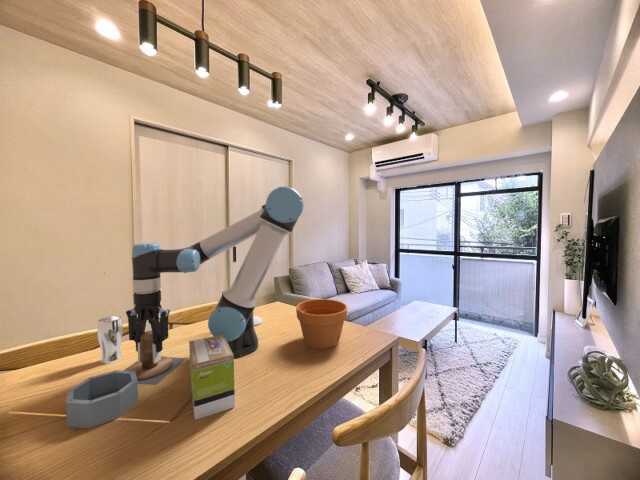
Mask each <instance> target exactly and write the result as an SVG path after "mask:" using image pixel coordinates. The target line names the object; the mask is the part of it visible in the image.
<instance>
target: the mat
mask: <svg viewBox="0 0 640 480" xmlns="http://www.w3.org/2000/svg"><path fill="white" fill-rule="evenodd" d="M168 357H169V356H168ZM169 358H171V359H172V367H171V368H170V369H169V370H168V371H166V372H165V373H163V374H161V375H159V376H156V377H154V378H150V379H146V380H138V385H153V386H156V385H158V384H159V383H160V382H162V381H163V379H165V378H166V377H167V376H168V375H170V373H172V372H173V371H174V370H175V369H176V368H177V367H179V365H182V363H183V362H185V360H187V359H188V357H172V356H171V357H169ZM136 362H138V360H137V361H135V362H134V363H136ZM127 368H128V367H126V368H125V369H124V370H122V371H126V370H127Z"/></svg>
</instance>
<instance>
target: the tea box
mask: <svg viewBox="0 0 640 480" xmlns="http://www.w3.org/2000/svg"><path fill="white" fill-rule="evenodd" d="M188 345H189V347H188V348H189V367H190V368H189V369H190V370H189V371H190V373H189V374H190V391H191V399H192V408H193V418H194V420H195V421H197V420H201V419H203V418H207V417H210V416H212V415H215V414H218V413H221V412H224V411H227V410H231V409H233V408H235V407H236V397H235V395H236V394H235V361H234V360H235V359H234V358H235V357H234V356H233V353H232V351H231V349H230V347H229V345H228V343H227V341H226V338H225V336H224V334H222V335H217V336H213V335H212V336H209V337H208V336H207V337H204V338H198V339H194V340H189V341H188Z"/></svg>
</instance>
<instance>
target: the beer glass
mask: <svg viewBox="0 0 640 480" xmlns="http://www.w3.org/2000/svg"><path fill="white" fill-rule="evenodd" d="M123 328H124V327H123V319H122V316H121V315H110V316H105V317H102V318H100V319H98V320H97V329H96V330H97V331H96V332H97V339H98V343H99V344H98V345H99V347H100V351H101V355H100V356H101V357H100V364H103V365H106V364H113V363H116V362H118V361H120V360H121V359H122V358H123V355H122V348H121V345H122V340H123V334H124V330H123Z"/></svg>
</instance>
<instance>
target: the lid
mask: <svg viewBox="0 0 640 480" xmlns="http://www.w3.org/2000/svg"><path fill="white" fill-rule="evenodd" d="M154 342H155V341H154V337H153V333H152V330H148V331H145V332H144V333H142V334H141V359H142V362H141V363H138V362H137V361H135V362H136V363H135V362H133V363H132V364H131V365H129V366H128V367H126V368H127V370H126V371H135V373H136V377H137V380H146V379H150V378H154V377H156V376H159V375H161V374H163V373H165V372H166V371H168V370H169V369H170V368H171V367H172V359H171V358H169V356H161V360H159V361H158V362H157V363H153V346H152V344H153V343H154Z"/></svg>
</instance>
